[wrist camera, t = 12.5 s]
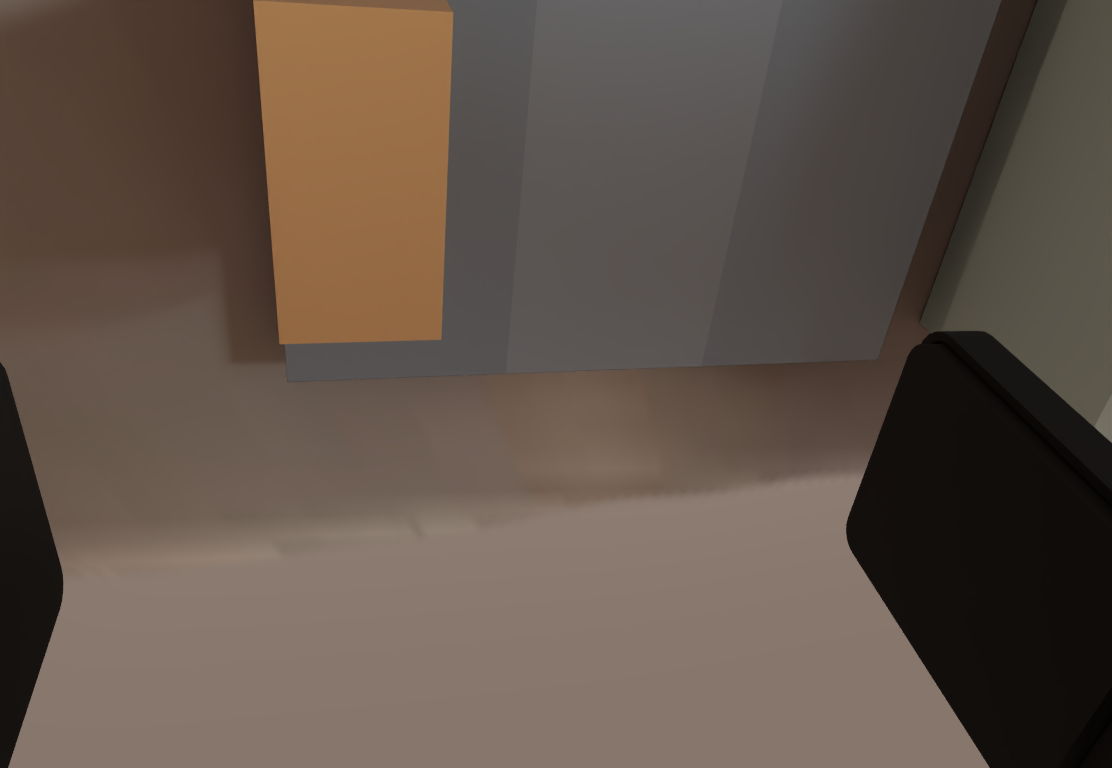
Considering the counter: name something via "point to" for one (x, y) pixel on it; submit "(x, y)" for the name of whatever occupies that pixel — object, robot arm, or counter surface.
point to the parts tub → (1044, 214)
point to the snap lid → (601, 178)
